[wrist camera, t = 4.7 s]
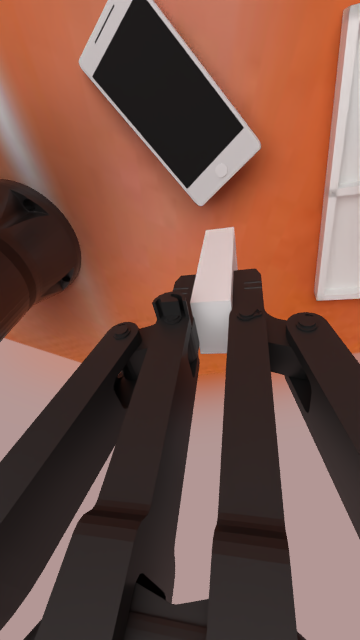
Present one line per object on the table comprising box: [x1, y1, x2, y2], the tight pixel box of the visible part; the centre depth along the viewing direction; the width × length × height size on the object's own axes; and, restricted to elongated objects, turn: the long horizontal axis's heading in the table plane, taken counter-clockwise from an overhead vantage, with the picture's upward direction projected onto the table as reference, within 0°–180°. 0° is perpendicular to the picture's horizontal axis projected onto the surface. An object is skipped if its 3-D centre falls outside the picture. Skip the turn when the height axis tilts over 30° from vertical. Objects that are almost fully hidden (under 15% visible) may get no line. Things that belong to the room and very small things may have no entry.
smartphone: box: [79, 0, 261, 206], centre depth 24 cm, size 7×15×1 cm, turn 47°
